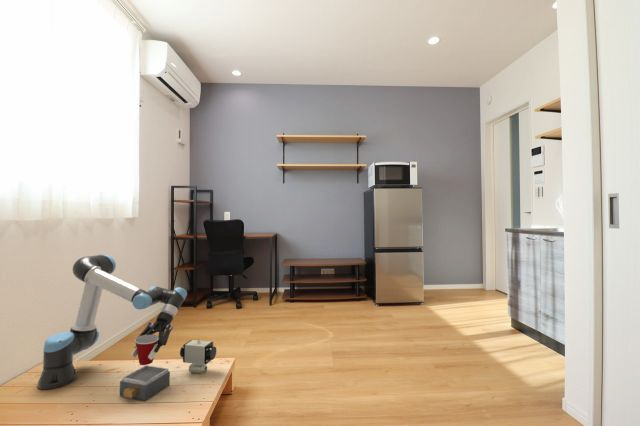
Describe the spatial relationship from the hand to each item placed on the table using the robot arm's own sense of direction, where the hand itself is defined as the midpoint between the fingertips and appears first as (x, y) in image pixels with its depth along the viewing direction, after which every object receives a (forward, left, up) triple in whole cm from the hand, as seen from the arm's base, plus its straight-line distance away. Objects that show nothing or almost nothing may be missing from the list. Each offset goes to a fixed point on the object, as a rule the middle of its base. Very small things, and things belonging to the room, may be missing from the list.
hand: (141, 357), depth 149 cm
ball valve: (+12, +27, -18) cm, 34 cm away
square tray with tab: (0, +2, -17) cm, 17 cm away
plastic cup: (0, +3, -4) cm, 5 cm away
